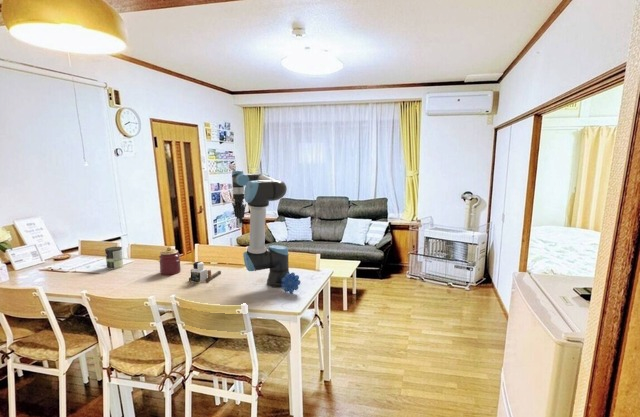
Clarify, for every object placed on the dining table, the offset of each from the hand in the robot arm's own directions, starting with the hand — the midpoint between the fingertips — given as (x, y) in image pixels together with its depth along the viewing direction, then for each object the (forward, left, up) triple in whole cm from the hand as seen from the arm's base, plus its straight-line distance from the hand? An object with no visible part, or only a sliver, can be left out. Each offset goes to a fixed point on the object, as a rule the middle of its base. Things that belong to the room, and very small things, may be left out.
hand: (240, 227), depth 229 cm
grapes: (-58, +7, -30) cm, 65 cm away
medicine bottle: (0, +32, -30) cm, 43 cm away
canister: (+31, +36, -30) cm, 56 cm away
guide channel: (+3, +26, -29) cm, 39 cm away
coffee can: (+73, +57, -30) cm, 97 cm away
